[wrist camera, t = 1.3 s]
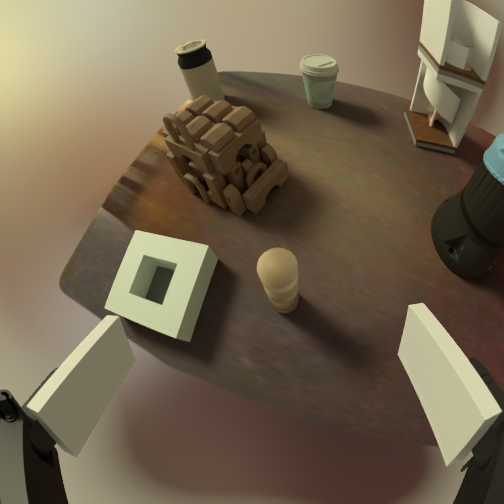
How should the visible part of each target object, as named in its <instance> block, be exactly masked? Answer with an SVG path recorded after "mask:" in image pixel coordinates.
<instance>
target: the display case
mask: <svg viewBox="0 0 504 504" xmlns="http://www.w3.org/2000/svg"><path fill="white" fill-rule="evenodd" d="M501 26H502V23H501V22H499V21H498V20H496V19H495V18H493V17H492V16H490V15H489V14H487V13H486V12H484V11H483V10H481V9H480V8H478V7H476V6H475V5H473V4H471V3H469V2H467V1H464V0H425V1H424V11H423V20H422V28H421V35H420V41H419V47H418V55H419V56H420V58H421V64H420V69H419V74H418V78H417V83H416V87H415V91H414V95H413V99H412V103H411V107H410V109H409V108H405V112H404V115H405V118H406V121H407V124H408V127H409V129H410V132H411V135H412V138H413V142H414V145H415V146H419V147H424V148H429V149H434V150H439V151H443V152H448V153H452V154H454V153H455V151H456V149H457V147H458V145H459V143H460V141H461V139H462V137H463V135H464V133H465V131H466V129H467V126H468V124H469V122H470V120H471V117H472V115H473V113H474V110H475V108H476V105H477V103H478V101H479V98H480V95H481V93H482V90H483V88H484V85H485V82H486V79H487V76H488V73H489V70H490V67H491V64H492V60H493V58H494V54H495V51H496V47H497V43H498V39H499V35H500V31H501Z"/></svg>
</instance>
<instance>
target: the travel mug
mask: <svg viewBox="0 0 504 504" xmlns="http://www.w3.org/2000/svg"><path fill="white" fill-rule="evenodd" d="M175 53H176V54H177V55H178V56H179V58H178V64H179V66H180V69H181V72H182V74H183V77H184V79H185V81H186V84H187V86H188V89H189V92H190V94H191V96H192V99H193V101H194V100H196V99H197V98H198V97H200V96H203V95H207V96H208V97H210V98H211V99H212V100H215V101H219V100H224V98H225V97H224V93H223V90H222V87H221V84H220V80H219V77H218V74H217V71H216V67H215V65H214V61H213V58H212V55H211V52H210V51H209V50H208V49H207V48H206V41H205V40H194V41H190V42H187V43H185V44H183V45H181V46H179V47H178V48H177V49H176V50H175Z"/></svg>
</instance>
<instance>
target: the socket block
mask: <svg viewBox="0 0 504 504" xmlns="http://www.w3.org/2000/svg"><path fill="white" fill-rule="evenodd" d="M217 260H218V258H217V257H216V255H215V254H214V252H213V251H212V250H211V248H210V247H209V246H208V245H203V244H199V243H194V242H189V241H185V240H180V239H175V238H170V237H166V236H161V235H156V234H152V233H147V232H142V231H138V230H136V231H135V233H134V236H133V238H132V240H131V242H130V244H129V247H128V249H127V251H126V254H125V256H124V258H123V261H122V263H121V266H120V268H119V271H118V273H117V276H116V278H115V281H114V283H113V286H112V289H111V291H110V294H109V297H108V299H107V302H106V305H105V308H106V309H108V310H110V311H112V312H114V313H117V314H119V315H121V316H123V317H125V318H128V319H130V320H132V321H134V322H137V323H139V324H141V325H144V326H146V327H149V328H151V329H153V330H156V331H158V332H161V333H163V334H166V335H168V336H171V337H173V338H176V339H180V340H183V341H187V342H190V340H191V337H192V334H193V331H194V328H195V325H196V322H197V319H198V316H199V313H200V310H201V307H202V304H203V301H204V298H205V295H206V292H207V289H208V286H209V283H210V280H211V277H212V275H213V272H214V269H215V266H216V263H217Z"/></svg>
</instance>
